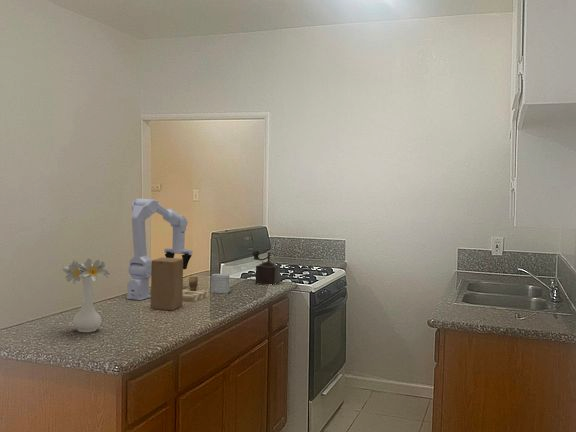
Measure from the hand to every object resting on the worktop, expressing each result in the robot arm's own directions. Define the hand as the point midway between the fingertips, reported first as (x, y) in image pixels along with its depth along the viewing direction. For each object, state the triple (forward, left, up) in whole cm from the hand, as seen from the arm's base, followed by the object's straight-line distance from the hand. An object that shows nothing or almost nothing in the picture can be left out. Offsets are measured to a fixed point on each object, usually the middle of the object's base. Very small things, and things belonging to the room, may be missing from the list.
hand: (177, 268), depth 276 cm
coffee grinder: (+35, -31, -10) cm, 48 cm away
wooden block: (-37, -18, -10) cm, 42 cm away
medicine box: (+2, -22, -10) cm, 25 cm away
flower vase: (-81, -14, -10) cm, 83 cm away
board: (-16, -16, -10) cm, 25 cm away
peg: (-11, -15, -8) cm, 20 cm away
